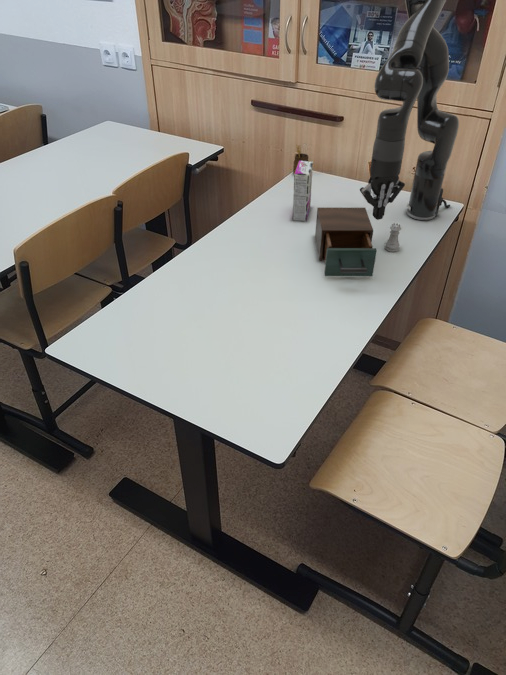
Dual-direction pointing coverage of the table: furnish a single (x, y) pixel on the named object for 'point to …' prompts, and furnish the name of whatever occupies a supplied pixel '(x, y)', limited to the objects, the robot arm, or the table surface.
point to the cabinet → (340, 224)
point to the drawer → (348, 254)
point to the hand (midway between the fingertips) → (377, 218)
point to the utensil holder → (299, 157)
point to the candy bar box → (302, 190)
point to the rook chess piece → (393, 238)
